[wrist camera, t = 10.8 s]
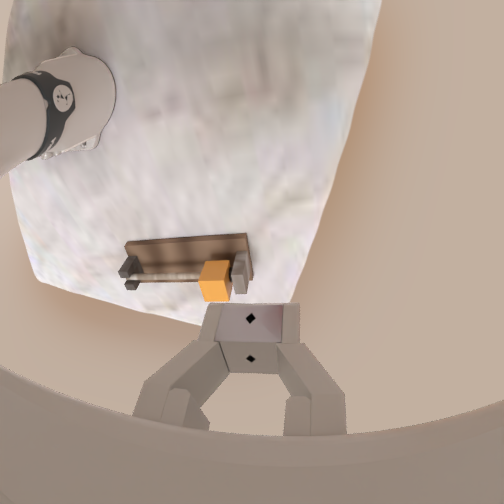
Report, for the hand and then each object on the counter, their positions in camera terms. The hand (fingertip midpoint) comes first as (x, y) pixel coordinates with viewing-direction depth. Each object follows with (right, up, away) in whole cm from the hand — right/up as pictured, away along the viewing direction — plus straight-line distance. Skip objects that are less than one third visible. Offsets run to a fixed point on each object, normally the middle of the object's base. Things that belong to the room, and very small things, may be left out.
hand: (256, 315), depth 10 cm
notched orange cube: (-5, -1, +38) cm, 39 cm away
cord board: (-12, +1, +43) cm, 44 cm away
